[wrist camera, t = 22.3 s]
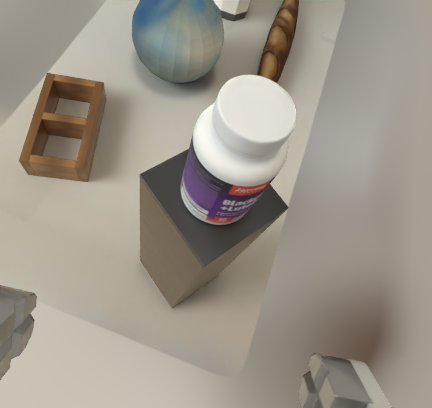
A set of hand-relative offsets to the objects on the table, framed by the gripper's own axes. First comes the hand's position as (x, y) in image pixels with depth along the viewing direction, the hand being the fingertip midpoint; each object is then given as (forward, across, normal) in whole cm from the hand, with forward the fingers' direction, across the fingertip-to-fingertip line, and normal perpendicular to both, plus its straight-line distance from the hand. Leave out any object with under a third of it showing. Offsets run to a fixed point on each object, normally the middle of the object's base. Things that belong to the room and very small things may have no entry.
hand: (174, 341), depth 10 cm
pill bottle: (+16, -1, -1) cm, 16 cm away
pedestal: (+35, 0, +16) cm, 39 cm away
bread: (+67, -9, -20) cm, 71 cm away
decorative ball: (+59, +9, -11) cm, 60 cm away
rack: (+46, +21, +3) cm, 50 cm away
